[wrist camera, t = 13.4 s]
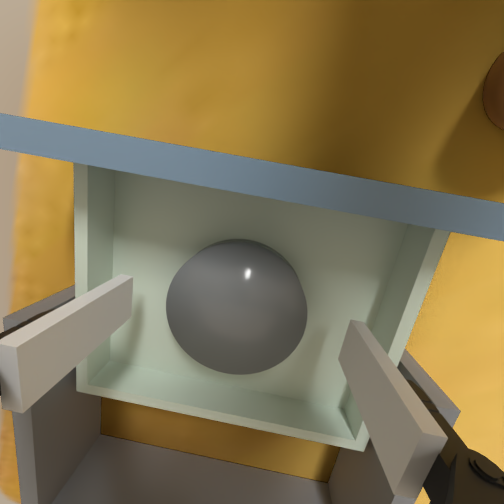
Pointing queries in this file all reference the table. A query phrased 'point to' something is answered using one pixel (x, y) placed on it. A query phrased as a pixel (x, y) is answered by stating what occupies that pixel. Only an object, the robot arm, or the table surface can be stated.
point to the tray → (260, 230)
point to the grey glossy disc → (237, 307)
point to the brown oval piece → (495, 93)
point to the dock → (172, 455)
